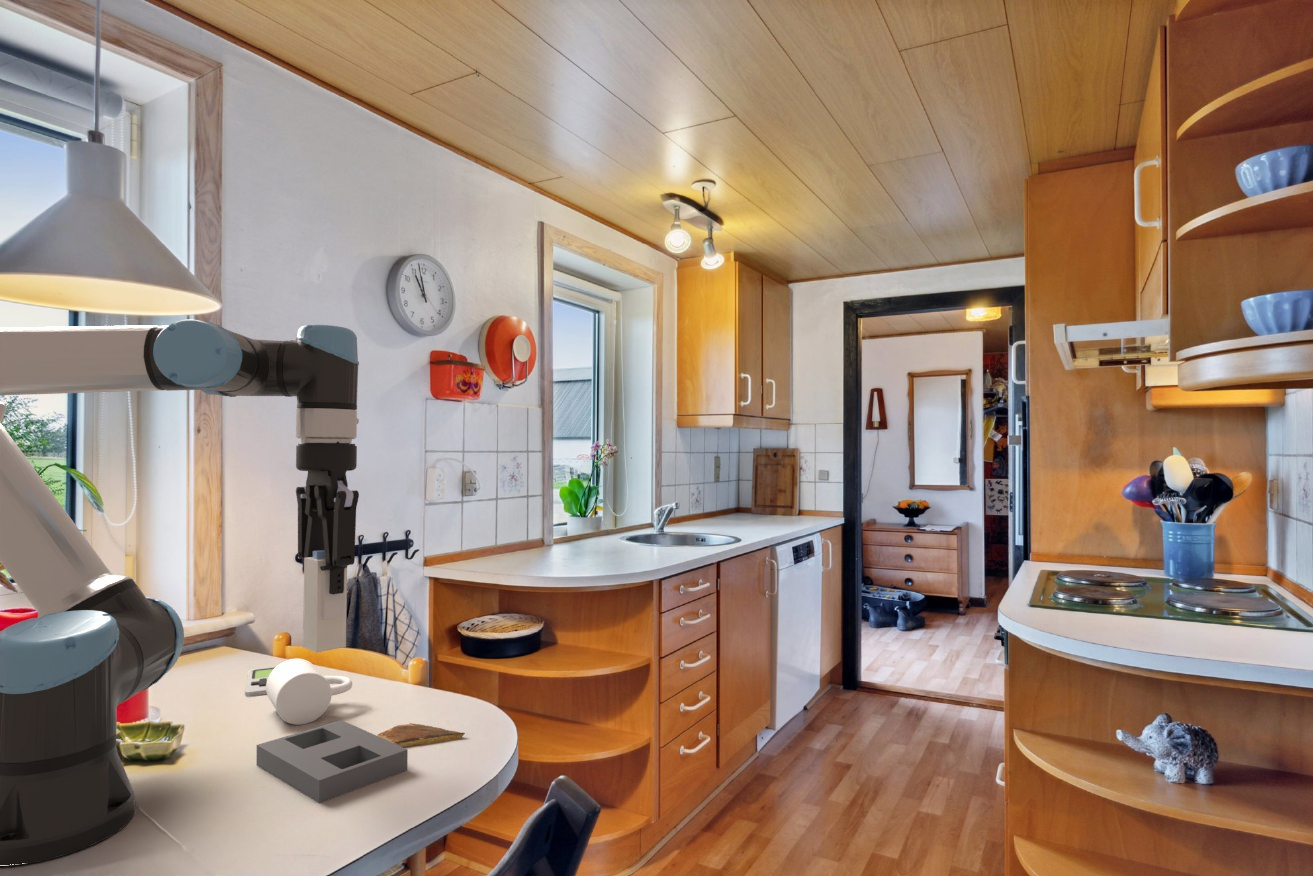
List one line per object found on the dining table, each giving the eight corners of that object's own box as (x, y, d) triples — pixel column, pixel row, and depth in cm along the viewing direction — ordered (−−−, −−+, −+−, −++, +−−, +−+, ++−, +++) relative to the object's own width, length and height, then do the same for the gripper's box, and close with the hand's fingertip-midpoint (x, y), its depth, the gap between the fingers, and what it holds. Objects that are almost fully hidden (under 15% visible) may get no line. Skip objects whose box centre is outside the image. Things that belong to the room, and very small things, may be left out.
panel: (319, 805, 92) (319, 780, 92) (256, 767, 103) (256, 745, 103) (407, 772, 101) (407, 749, 101) (341, 740, 112) (341, 720, 112)
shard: (465, 743, 112) (465, 730, 112) (429, 762, 105) (429, 749, 105) (407, 731, 117) (407, 719, 117) (370, 749, 110) (370, 737, 110)
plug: (316, 652, 100) (317, 553, 100) (302, 647, 103) (304, 550, 103) (345, 647, 103) (347, 550, 103) (332, 641, 106) (333, 547, 106)
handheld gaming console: (244, 690, 131) (248, 667, 145) (244, 700, 131) (248, 676, 145) (308, 682, 136) (306, 661, 149) (308, 691, 136) (306, 669, 149)
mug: (276, 730, 116) (276, 677, 116) (265, 711, 124) (265, 662, 124) (358, 714, 123) (358, 664, 123) (343, 697, 131) (343, 651, 131)
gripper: (385, 442, 100) (382, 620, 100) (325, 441, 112) (323, 601, 112) (329, 441, 95) (326, 630, 95) (272, 440, 106) (269, 609, 106)
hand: (324, 614), depth 103 cm, fingers closed on plug, 4 cm apart
